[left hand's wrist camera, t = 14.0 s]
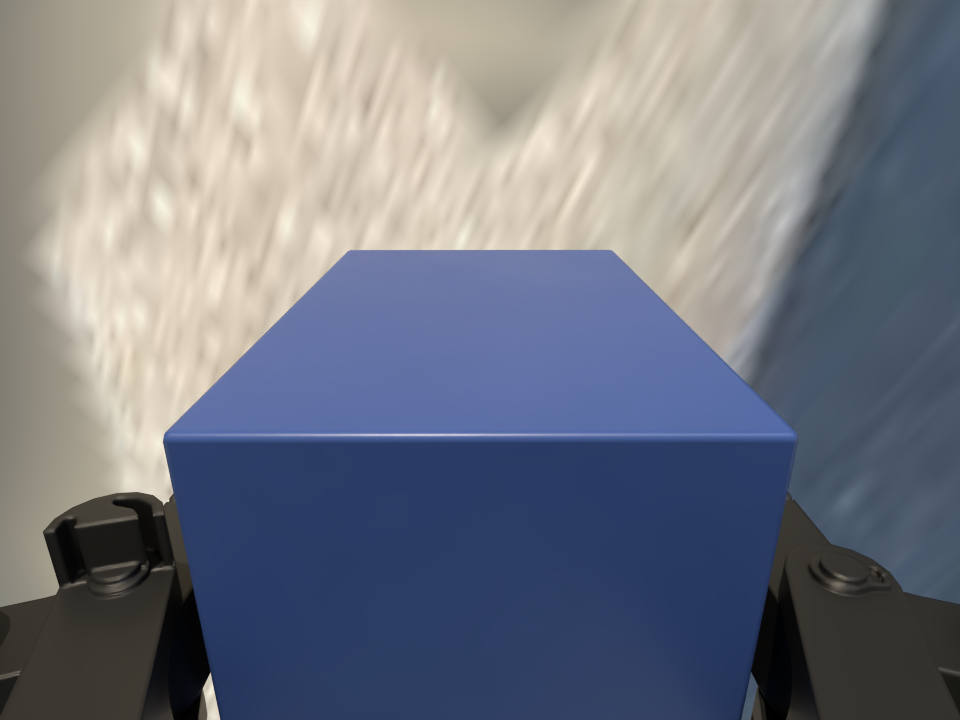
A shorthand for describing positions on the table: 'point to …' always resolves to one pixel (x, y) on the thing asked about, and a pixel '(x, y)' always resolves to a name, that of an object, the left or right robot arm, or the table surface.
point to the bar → (480, 499)
